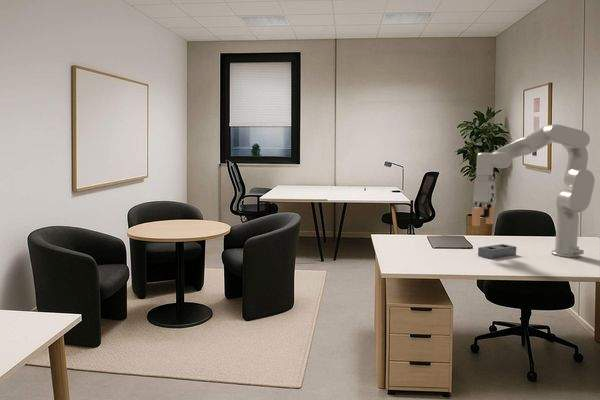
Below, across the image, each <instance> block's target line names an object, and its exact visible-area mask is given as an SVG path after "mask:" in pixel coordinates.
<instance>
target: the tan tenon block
mask: <svg viewBox="0 0 600 400" xmlns="http://www.w3.org/2000/svg"><path fill="white" fill-rule="evenodd" d="M484 209H485V205H484V206H483V205H482V207H477V206H474V207H471V216H472V217H471V226H472V227H473V226H475V227H479V226H481V216H480V215H483V216H484ZM495 209H496V206H495V205H493V206H492V207H491V208H490V209H489V217H485V224H486V225H487V224H488V225H494V224H495V212H496V210H495Z"/></svg>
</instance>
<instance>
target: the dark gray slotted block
mask: <svg viewBox="0 0 600 400" xmlns="http://www.w3.org/2000/svg"><path fill="white" fill-rule="evenodd" d="M516 255H517V246H514V245H510V244H505V243H504V244H503V243H501V244H494V245H487V246H480V247H478V249H477V256H478V257H481V258H487V259H491V260H492V259H499V258H505V257H511V256H512V257H513V256H516Z"/></svg>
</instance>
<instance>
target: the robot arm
mask: <svg viewBox="0 0 600 400" xmlns="http://www.w3.org/2000/svg"><path fill="white" fill-rule="evenodd" d="M590 142H591V136H590V135H589V133H587V132H586V131H585V130H583V129H578V128H573V127H570V126H566V125H562V124H557V123H556V124H546V125H545V126H542V127H540V128H537V130H535V131H533V132H531V133H530V134H528V135H526V136H524V137H521V138H519V139H516V140H515V141H513V142H511V143H508V144H506V145H504V146H502V147H500V148H498V149H497V150H494V151H493V152H478V153H477V154H476V174H475V175H476V177H475V181H474V185H473V195H472V197H473V198H472V201H471V202H472V203H473V204H474V205H475V207H483V203H484V206H485V209H484V215H480V217H483V218H486V217H489V209H490V208H491V207H492V206H495V205H496V204H497V202H496V194H497V193H496V185H495V181H494V180H495V176H494V168H496V169H497V168H499V169H506V168H508V167H510V165H512V162H513V159H516V158H519V157H523V156H529V155H531V154H533V153H535V152H537V151H538V150H539V151H540V150H541V149H543V148H544V147H546V146H548V145H550V144H553V143H554V144H555V143H557V144H559V145H562V146H563V147H564V148H565V150H566V152H567V156H568V159H567V164H566V169H565V172H564V178H563V182H564V184H565V185H566V186H567V187H570V188H572V189H564V190H563V191H560V192H559V193H558V195H557V196H556V200H555V203H556V204H555V205H556V211H557V212H556V229H555V230H556V231H555V249H553V250H551V255H554V256H557V257H564V258H579V257H580V256H581V255H582V256H583V255H584V253H585V250H583V249H580V246H578V238H579V237H578V234H579V222H580V220H579V219H580V218H579V217H580V216H579V213H582V212H585V211H586V210H587V209H588V208H589V205H590V203H591V199H592V196H593V192H594V187H595V181H596V180H595V176H594V173H593V172H592V171H591V170H589V169H588V168H587V167H588V163H589V162H588V161H589V152H588V149H587V146H589V144H590Z"/></svg>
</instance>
